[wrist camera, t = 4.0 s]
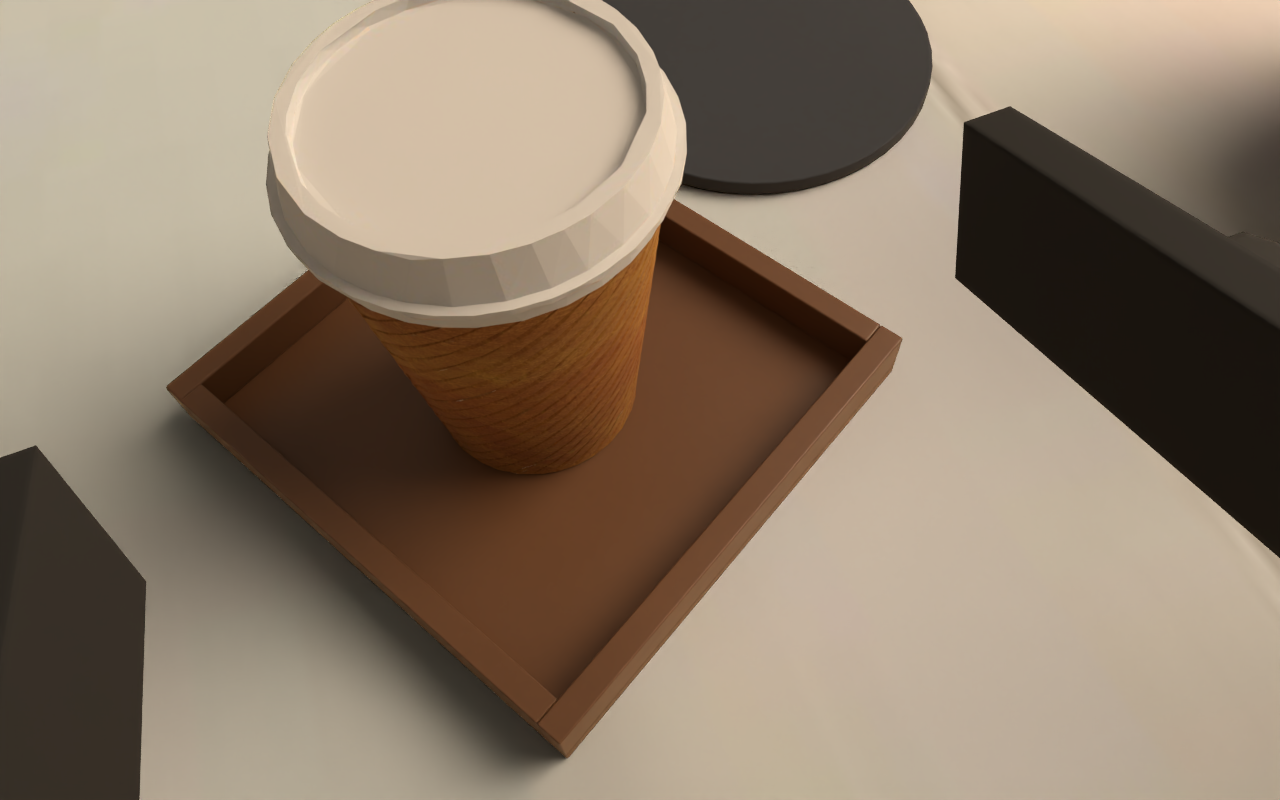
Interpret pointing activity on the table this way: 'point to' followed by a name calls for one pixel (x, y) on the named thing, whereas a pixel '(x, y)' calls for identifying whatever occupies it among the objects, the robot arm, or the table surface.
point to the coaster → (786, 85)
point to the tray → (558, 501)
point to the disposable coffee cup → (487, 207)
